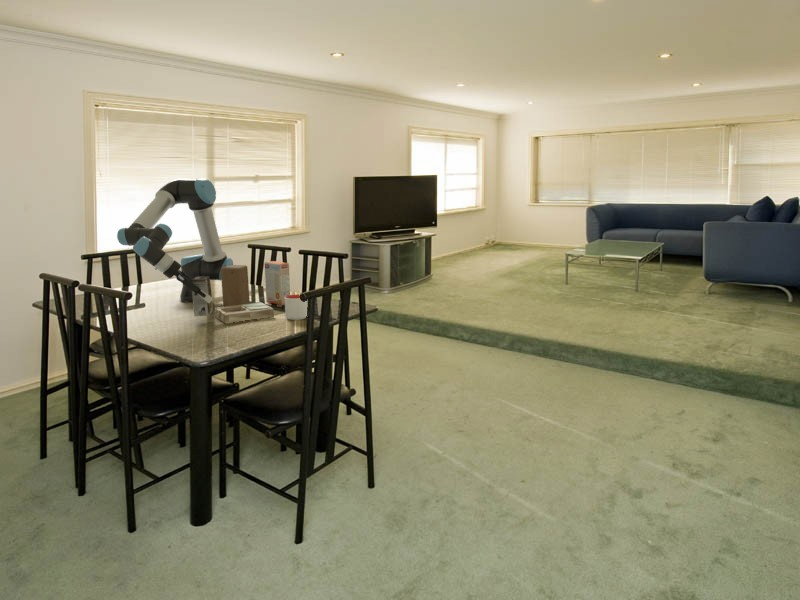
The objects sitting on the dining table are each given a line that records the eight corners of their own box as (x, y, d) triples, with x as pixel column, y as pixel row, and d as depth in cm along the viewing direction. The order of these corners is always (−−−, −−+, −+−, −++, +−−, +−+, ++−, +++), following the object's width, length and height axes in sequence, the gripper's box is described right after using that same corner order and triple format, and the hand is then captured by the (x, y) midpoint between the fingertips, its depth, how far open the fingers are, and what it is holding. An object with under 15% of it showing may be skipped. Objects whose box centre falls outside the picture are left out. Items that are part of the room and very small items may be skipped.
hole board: (215, 316, 270) (214, 307, 269) (261, 310, 281) (261, 301, 280) (225, 323, 256) (225, 314, 255) (274, 317, 267) (273, 307, 266)
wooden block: (241, 308, 286) (238, 268, 281) (222, 307, 288) (219, 267, 283) (250, 304, 295) (248, 265, 291) (232, 303, 297) (229, 264, 293)
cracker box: (291, 304, 295) (289, 262, 290) (281, 305, 291) (279, 264, 286) (276, 300, 305) (273, 260, 300) (266, 301, 300) (263, 261, 296)
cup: (296, 314, 272) (295, 293, 270) (312, 317, 266) (311, 295, 264) (280, 318, 264) (279, 297, 262) (297, 321, 258) (296, 299, 256)
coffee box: (198, 311, 262) (195, 276, 259) (213, 311, 263) (210, 275, 259) (193, 316, 254) (190, 280, 250) (208, 316, 254) (205, 279, 251)
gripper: (160, 268, 258) (201, 300, 268) (163, 277, 238) (206, 310, 247) (172, 256, 259) (212, 287, 269) (176, 263, 239) (218, 297, 248)
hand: (209, 298), depth 258 cm, fingers closed on coffee box, 10 cm apart
